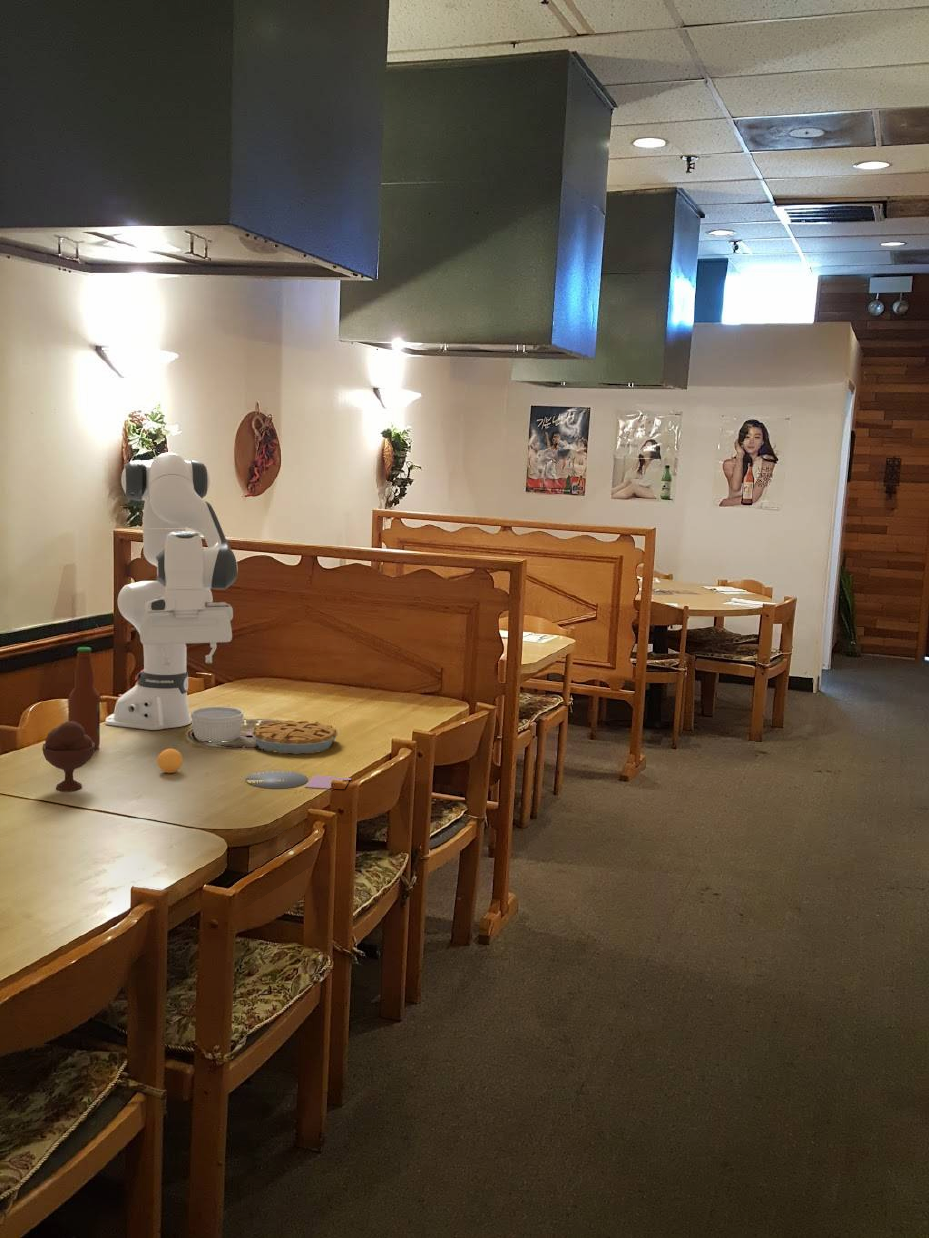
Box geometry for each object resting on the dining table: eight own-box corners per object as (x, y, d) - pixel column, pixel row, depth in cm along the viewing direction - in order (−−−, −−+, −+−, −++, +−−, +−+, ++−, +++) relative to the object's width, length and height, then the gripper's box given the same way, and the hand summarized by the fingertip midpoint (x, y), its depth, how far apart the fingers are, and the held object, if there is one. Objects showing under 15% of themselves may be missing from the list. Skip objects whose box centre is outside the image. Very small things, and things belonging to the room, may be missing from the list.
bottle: (106, 746, 274) (106, 647, 271) (84, 753, 268) (84, 651, 264) (83, 742, 277) (83, 644, 274) (61, 748, 271) (61, 648, 267)
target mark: (238, 786, 247) (238, 785, 247) (254, 769, 261) (254, 768, 261) (300, 790, 246) (300, 789, 246) (313, 773, 260) (313, 772, 260)
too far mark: (305, 787, 249) (305, 786, 249) (313, 776, 258) (313, 775, 258) (344, 790, 248) (344, 789, 248) (351, 779, 257) (351, 778, 257)
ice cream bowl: (105, 784, 244) (105, 717, 242) (72, 797, 233) (72, 728, 231) (65, 777, 247) (65, 712, 245) (31, 790, 237) (30, 722, 235)
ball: (153, 775, 252) (154, 751, 252) (162, 768, 258) (162, 745, 257) (178, 776, 252) (178, 752, 251) (185, 770, 258) (186, 746, 257)
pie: (321, 760, 273) (321, 740, 272) (237, 751, 277) (238, 732, 276) (347, 739, 294) (348, 721, 293) (270, 732, 298) (270, 713, 297)
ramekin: (217, 747, 280) (217, 720, 279) (179, 738, 286) (180, 712, 286) (253, 737, 291) (253, 711, 290) (216, 729, 298) (217, 704, 297)
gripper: (232, 601, 255) (234, 661, 255) (140, 603, 251) (142, 664, 251) (233, 601, 249) (234, 662, 249) (138, 603, 244) (140, 666, 245)
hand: (187, 663), depth 250 cm, fingers open, 8 cm apart
